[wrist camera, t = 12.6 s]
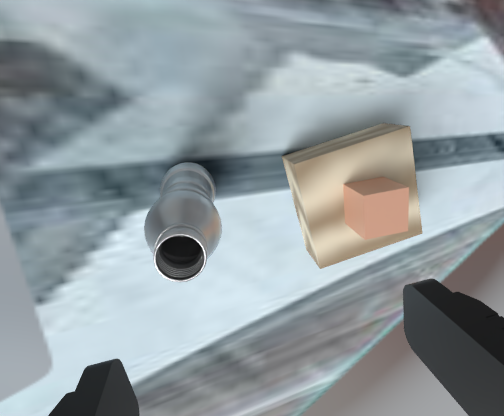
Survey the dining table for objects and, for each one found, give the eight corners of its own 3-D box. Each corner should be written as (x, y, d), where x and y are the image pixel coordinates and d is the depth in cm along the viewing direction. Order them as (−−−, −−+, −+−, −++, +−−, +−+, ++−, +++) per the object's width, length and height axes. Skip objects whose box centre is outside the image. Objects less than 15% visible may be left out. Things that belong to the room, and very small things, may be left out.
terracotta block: (343, 184, 38) (363, 195, 33) (383, 176, 38) (409, 187, 34) (345, 223, 39) (364, 239, 35) (383, 215, 40) (408, 230, 35)
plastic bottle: (217, 161, 40) (233, 215, 22) (211, 213, 42) (222, 302, 24) (164, 155, 39) (132, 206, 20) (160, 208, 41) (128, 299, 22)
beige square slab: (281, 155, 42) (294, 164, 36) (382, 122, 42) (409, 126, 37) (305, 248, 47) (320, 268, 41) (395, 217, 47) (422, 233, 42)
